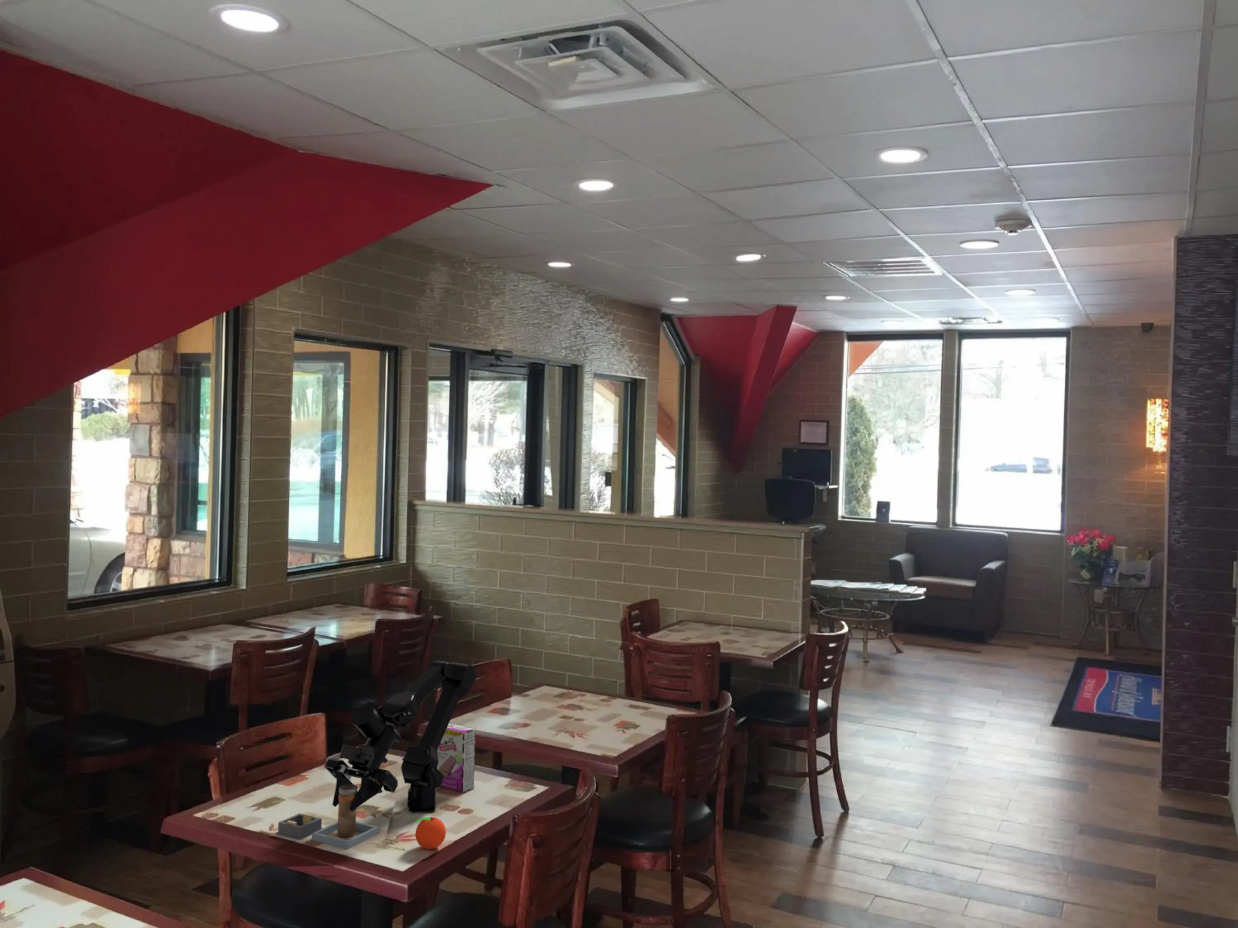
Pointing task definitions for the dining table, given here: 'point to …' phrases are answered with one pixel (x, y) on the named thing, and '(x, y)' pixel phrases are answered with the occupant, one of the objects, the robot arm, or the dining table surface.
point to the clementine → (430, 832)
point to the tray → (324, 838)
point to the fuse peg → (346, 812)
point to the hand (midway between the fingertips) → (342, 807)
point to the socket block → (299, 826)
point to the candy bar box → (457, 758)
